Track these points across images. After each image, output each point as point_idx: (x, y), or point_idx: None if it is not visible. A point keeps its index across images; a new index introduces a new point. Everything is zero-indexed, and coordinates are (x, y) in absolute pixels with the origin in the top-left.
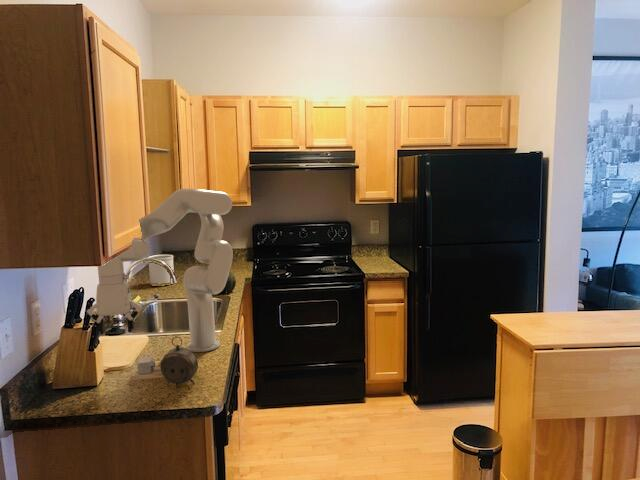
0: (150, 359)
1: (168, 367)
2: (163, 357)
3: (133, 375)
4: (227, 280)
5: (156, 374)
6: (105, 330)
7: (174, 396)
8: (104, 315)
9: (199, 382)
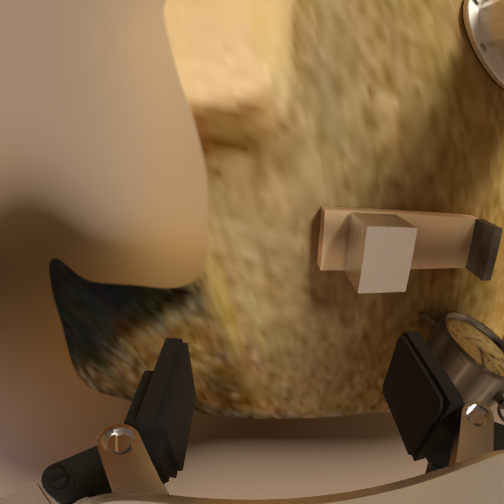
0: (408, 264)
1: None
2: None
3: (325, 268)
4: None
5: None
6: (185, 346)
7: None
8: (166, 491)
9: (480, 314)
